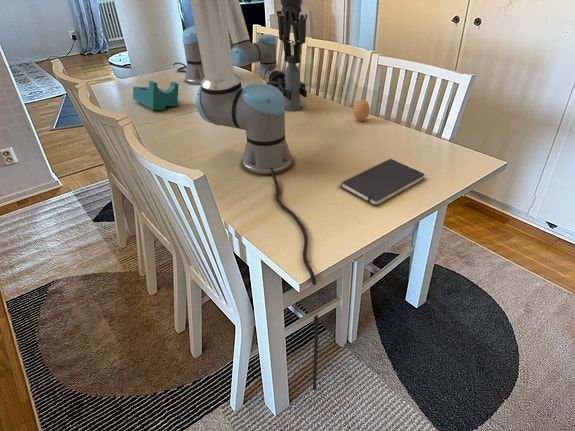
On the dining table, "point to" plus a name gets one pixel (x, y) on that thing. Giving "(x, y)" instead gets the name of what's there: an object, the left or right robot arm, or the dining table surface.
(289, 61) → the cap
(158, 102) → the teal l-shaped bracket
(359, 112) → the egg
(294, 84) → the bottle
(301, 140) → the dining table surface
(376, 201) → the notebook
